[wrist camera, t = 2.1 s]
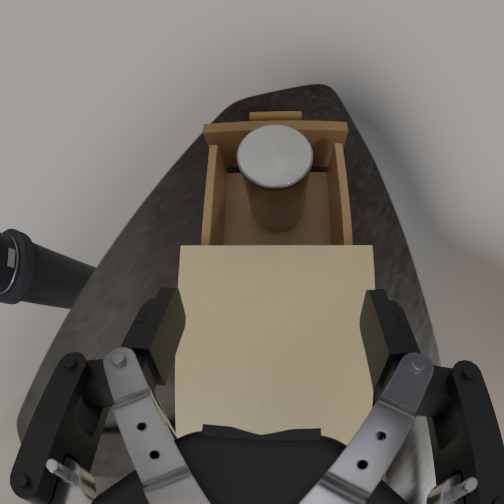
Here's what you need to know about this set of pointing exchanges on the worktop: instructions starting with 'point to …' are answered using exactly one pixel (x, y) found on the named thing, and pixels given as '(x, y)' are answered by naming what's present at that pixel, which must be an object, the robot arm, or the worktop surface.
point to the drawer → (317, 197)
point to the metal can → (275, 175)
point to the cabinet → (273, 338)
